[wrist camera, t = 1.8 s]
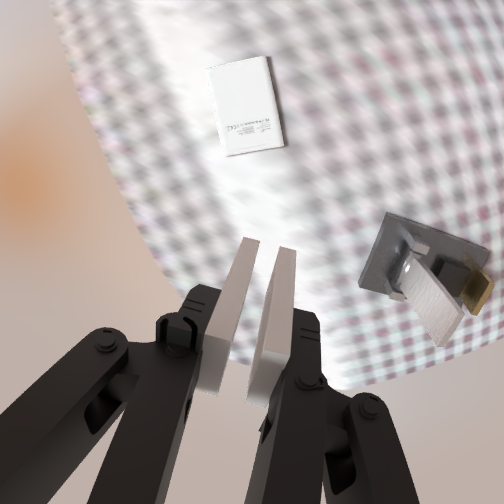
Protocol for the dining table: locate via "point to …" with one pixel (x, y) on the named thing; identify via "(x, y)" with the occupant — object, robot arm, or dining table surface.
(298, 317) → the robot arm
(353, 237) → the dining table surface
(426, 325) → the strap
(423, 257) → the latch board
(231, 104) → the external hard drive
